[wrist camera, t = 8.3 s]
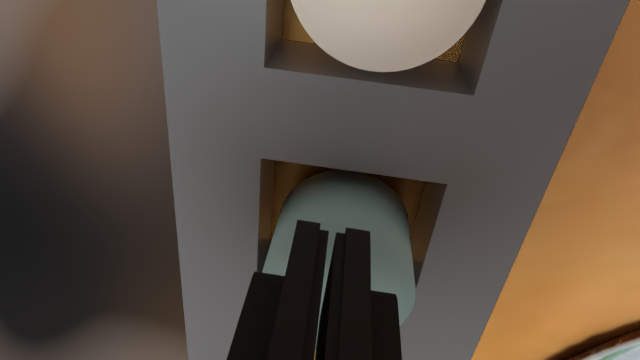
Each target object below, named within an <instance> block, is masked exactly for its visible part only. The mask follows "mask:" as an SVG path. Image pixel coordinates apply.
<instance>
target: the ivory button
mask: <svg viewBox="0 0 640 360" xmlns="http://www.w3.org/2000/svg"><path fill="white" fill-rule="evenodd" d="M485 1H486V0H291V2H292V5H293V8H294V10H295V13H296V15H297V17H298V19H299V21H300V23H301V24H302V26H303V28H304V29H305V30H306V32H307V33H308V35H309V36H310V37H311V38H312V39H313V40H314V42H315V43H316V44H317V45H318V46H319V47H320V48H322V49H323V50H324V51H325V52H326V53H328V54H329V55H331V56H332V57H334V58H335V59H337V60H339V61H341V62H343V63H345V64H347V65H349V66H352V67H355V68H358V69H362V70H367V71H374V72H395V71H401V70H406V69H410V68H413V67H416V66H420V65H422V64H424V63H426V62H429V61H431V60H433V59H434V58H436V57H438V56H439V55H441V54H443V53H444V52H445V51H447V50H448V49H449V48H450V47H452V46H453V45H454V44H455V43H456V42H457V41H458V40H459V39H460V38H461V37H462V36H463V35H464V34H465V33H466V32H467V30H468V29H469V28H470V27H471V26H472V24H473V23H474V21H475V20H476V18H477V16H478V15H479V13H480V12H481V10H482V8H483V5H484V3H485Z"/></svg>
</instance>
